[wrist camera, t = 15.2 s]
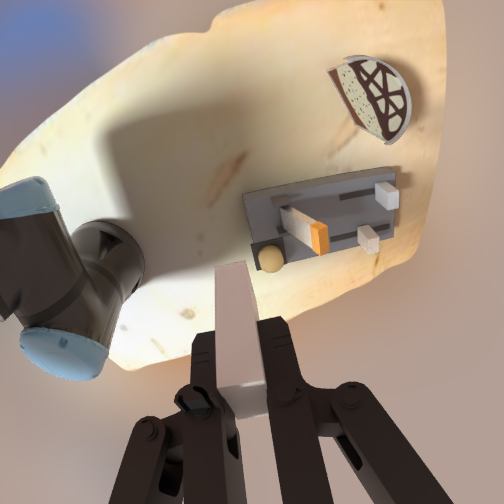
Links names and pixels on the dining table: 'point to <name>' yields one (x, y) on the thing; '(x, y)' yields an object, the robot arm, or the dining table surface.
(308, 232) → the lever
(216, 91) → the dining table surface
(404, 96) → the food container
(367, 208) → the panel
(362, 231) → the cream slider
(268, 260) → the button
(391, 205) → the grey slider
